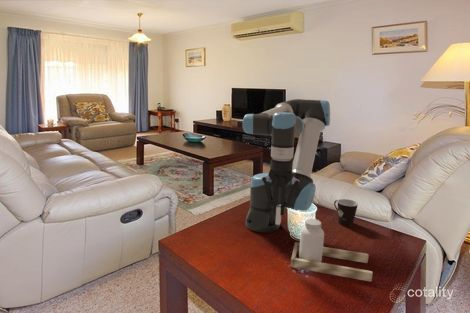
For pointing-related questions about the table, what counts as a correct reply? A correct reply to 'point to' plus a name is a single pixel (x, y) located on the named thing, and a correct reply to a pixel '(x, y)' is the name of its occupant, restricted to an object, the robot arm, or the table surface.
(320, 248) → the pill bottle
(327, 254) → the cradle
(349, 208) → the coffee mug
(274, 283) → the table surface
